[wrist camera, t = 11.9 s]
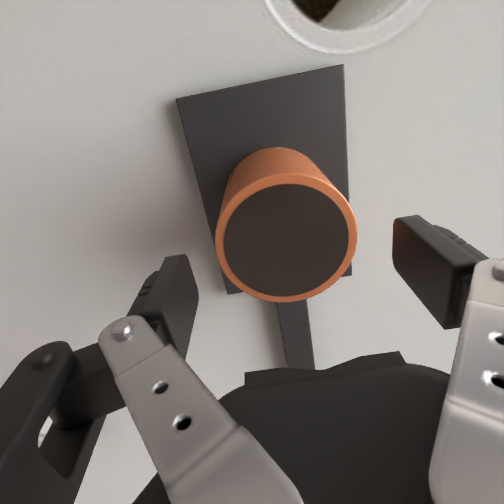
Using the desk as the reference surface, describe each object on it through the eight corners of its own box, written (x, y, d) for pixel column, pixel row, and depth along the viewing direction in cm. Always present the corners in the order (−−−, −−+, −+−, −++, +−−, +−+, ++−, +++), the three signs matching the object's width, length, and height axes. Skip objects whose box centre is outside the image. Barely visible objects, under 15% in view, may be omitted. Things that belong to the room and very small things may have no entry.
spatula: (178, 98, 17) (173, 98, 16) (340, 64, 17) (346, 63, 15) (264, 428, 31) (264, 441, 30) (355, 416, 30) (359, 430, 29)
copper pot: (214, 157, 18) (198, 188, 12) (321, 137, 18) (356, 160, 12) (236, 250, 21) (231, 312, 15) (328, 235, 20) (359, 293, 15)
